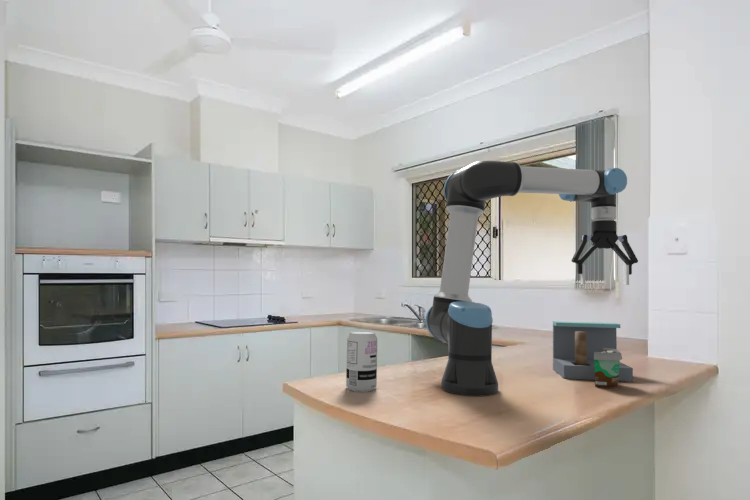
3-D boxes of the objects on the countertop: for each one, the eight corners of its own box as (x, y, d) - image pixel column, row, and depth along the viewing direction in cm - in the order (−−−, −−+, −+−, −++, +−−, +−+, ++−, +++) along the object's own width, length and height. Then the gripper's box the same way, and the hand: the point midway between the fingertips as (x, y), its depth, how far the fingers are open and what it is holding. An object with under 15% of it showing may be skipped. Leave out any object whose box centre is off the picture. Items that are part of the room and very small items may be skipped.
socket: (563, 378, 148) (563, 325, 149) (552, 369, 162) (552, 321, 162) (632, 381, 145) (632, 327, 146) (615, 372, 159) (615, 323, 160)
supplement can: (350, 384, 134) (351, 330, 135) (379, 386, 133) (380, 331, 133) (342, 391, 126) (343, 333, 127) (373, 393, 125) (374, 334, 125)
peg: (573, 375, 152) (573, 331, 153) (584, 376, 152) (584, 331, 153) (576, 377, 149) (576, 332, 150) (588, 378, 148) (588, 332, 149)
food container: (617, 391, 132) (617, 354, 133) (593, 387, 136) (593, 352, 136) (626, 383, 142) (626, 349, 142) (603, 380, 146) (603, 347, 146)
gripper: (567, 219, 158) (568, 284, 157) (648, 219, 155) (649, 285, 154) (561, 221, 165) (562, 283, 164) (638, 221, 162) (639, 284, 161)
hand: (604, 284), depth 159 cm, fingers open, 13 cm apart
